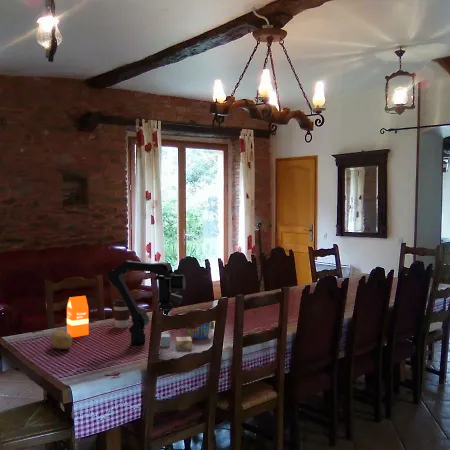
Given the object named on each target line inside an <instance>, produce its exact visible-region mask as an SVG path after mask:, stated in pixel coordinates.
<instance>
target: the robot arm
mask: <svg viewBox="0 0 450 450" xmlns="http://www.w3.org/2000/svg"><path fill="white" fill-rule="evenodd" d="M129 270H134V271H135V270H136V271H141V272H143V271H144V272H150V273H153V274H155V277H154V278H153V280H155V281H157V282H158V285H157V287H158V290H157V292H158V297H157V306H158V310H159V309H160V308H162V309H163V311H164V314H166V315H168V316H169V313H170V312H171V311H172V310H173V303H172V302H174V303H176V304H179V305H181V303H182V301H183V296H182V295H180V292H179V291H176V292H173V293H172V291H171V288H172V290H186V286H187V280H186V277H185V274H176V273H175V272H174V270H172V267H171V264H170V263H169V262H154V263H153V262H145V261H135V260H131V259H130V260H129V259H127V260H125V261H123V262H122V263H121V264H119V266H117V267H116V268H114V269H112V270H110V271H109V272H108V273H107V276H106V278H107V280H108V282H109V283H110V284H111V285H112V286H113V287H115V289H117V291H118V293H119V295H120V297H121V299H123V300H124V302H125V304H126V306H127V307H128V309H129V311H130V316H131V322H132V325H131V326H130V327H129V328H128V331H129V333H130V346H144V345H145V343H146V332H145V329H146V327H147V326H148V325H149V324H150V323H149V322H150V319H149V318H150V316H149V315H148V314H147V312H146V310H141V309H140V308H139V306H138V304H137V302H136V300H135V299H134V296H133V295H132V293H131V291H130V290H129V288H128V286H127V284H126V277H125V274H126V273H127V272H128V271H129Z"/></svg>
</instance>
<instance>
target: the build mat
mask: <svg viewBox="0 0 450 450" xmlns="http://www.w3.org/2000/svg"><path fill="white" fill-rule="evenodd" d="M172 347H173V351H174V352H175V351H177V352H178V351H196V347H195V344H194V343H192V349H178V350H177V347H176V343H175V344H172Z"/></svg>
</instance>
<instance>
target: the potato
mask: <svg viewBox="0 0 450 450" xmlns="http://www.w3.org/2000/svg"><path fill="white" fill-rule="evenodd" d="M50 339H51V340H50V341H51V345H52V347H54V348H56V350H57V349H58V350H67V349H69V348H70V347H71V346H72V344H73V337H72V336H71V335H70V334H69V333H67V331H65V330H64V329H63V330H61V329H57V330H55V331H54V332H52V335H51V338H50Z"/></svg>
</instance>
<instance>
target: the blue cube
mask: <svg viewBox="0 0 450 450" xmlns="http://www.w3.org/2000/svg"><path fill="white" fill-rule="evenodd" d="M170 346H171V334H170V333H163V334H162V336H161V348H162V347H170Z"/></svg>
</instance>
